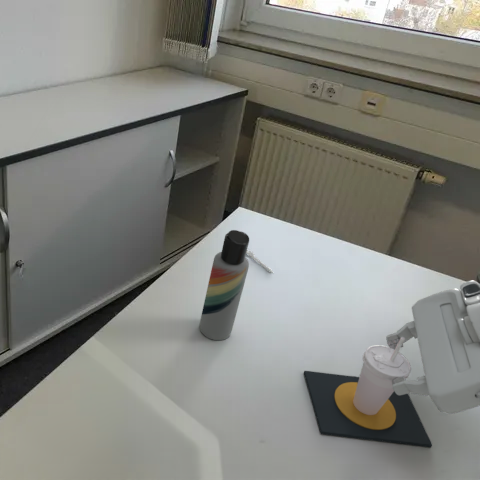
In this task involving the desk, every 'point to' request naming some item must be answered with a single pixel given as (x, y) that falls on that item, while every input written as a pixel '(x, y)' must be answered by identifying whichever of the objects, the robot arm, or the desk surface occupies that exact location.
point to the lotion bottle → (225, 287)
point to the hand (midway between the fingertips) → (391, 364)
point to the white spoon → (258, 261)
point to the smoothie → (379, 376)
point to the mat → (357, 423)
